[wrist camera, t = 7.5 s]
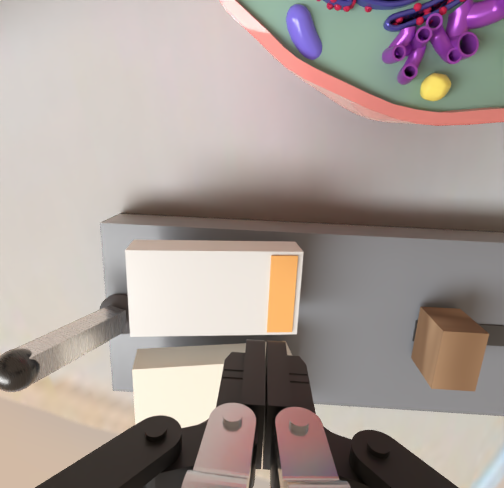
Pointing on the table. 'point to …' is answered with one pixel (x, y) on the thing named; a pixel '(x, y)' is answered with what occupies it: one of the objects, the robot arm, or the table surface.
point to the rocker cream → (180, 381)
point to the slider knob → (449, 348)
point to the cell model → (390, 54)
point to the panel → (346, 304)
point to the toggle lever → (59, 348)
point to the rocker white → (213, 287)
